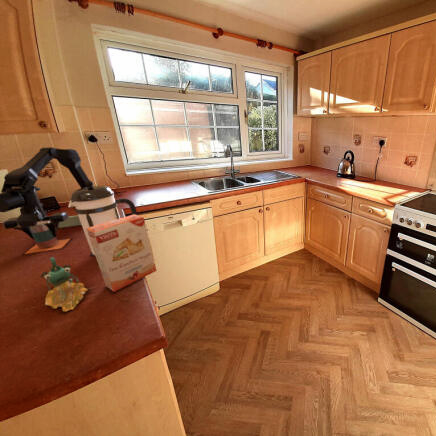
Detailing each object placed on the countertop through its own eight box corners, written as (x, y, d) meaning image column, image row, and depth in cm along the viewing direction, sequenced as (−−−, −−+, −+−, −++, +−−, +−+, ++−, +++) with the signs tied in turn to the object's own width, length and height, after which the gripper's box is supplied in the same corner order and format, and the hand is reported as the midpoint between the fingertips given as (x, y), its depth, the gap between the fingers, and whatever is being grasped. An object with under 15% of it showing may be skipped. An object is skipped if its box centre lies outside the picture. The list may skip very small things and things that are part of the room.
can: (60, 240, 109) (52, 219, 105) (54, 246, 104) (45, 224, 100) (42, 243, 107) (32, 222, 103) (34, 249, 101) (24, 227, 98)
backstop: (88, 223, 130) (84, 214, 128) (87, 224, 129) (83, 215, 127) (59, 226, 126) (56, 217, 124) (58, 228, 124) (54, 219, 123)
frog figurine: (84, 277, 84) (70, 240, 77) (93, 308, 72) (78, 267, 66) (46, 289, 78) (28, 250, 71) (49, 325, 66) (27, 282, 60)
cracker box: (114, 293, 75) (93, 232, 68) (105, 287, 78) (84, 227, 71) (158, 271, 86) (144, 216, 79) (148, 266, 89) (134, 213, 82)
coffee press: (123, 261, 93) (99, 184, 82) (79, 264, 92) (48, 186, 81) (145, 241, 109) (127, 174, 98) (108, 242, 108) (86, 175, 97)
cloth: (70, 239, 112) (70, 238, 112) (61, 248, 103) (61, 248, 103) (36, 244, 108) (36, 243, 108) (24, 254, 99) (24, 254, 99)
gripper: (-15, 213, 88) (4, 251, 94) (50, 206, 95) (65, 242, 101) (4, 204, 98) (20, 239, 103) (62, 198, 104) (75, 231, 110)
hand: (45, 238), depth 104 cm, fingers closed on can, 6 cm apart
